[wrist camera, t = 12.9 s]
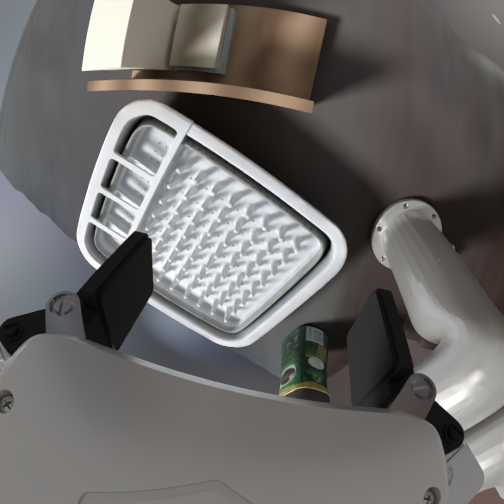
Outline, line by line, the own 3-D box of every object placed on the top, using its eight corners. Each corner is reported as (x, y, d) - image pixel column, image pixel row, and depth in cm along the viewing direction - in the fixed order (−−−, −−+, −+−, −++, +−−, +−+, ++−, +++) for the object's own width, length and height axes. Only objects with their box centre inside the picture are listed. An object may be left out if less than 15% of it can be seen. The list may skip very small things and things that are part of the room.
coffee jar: (306, 357, 59) (303, 432, 44) (277, 344, 58) (266, 421, 42) (335, 333, 54) (338, 414, 38) (303, 318, 53) (299, 403, 37)
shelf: (325, 23, 26) (337, -5, 16) (306, 107, 33) (311, 113, 23) (150, 9, 27) (103, -8, 17) (137, 86, 34) (87, 91, 24)
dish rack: (243, 329, 57) (236, 359, 51) (93, 231, 50) (70, 252, 43) (356, 223, 41) (366, 250, 35) (157, 83, 34) (128, 84, 27)
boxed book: (190, 12, 26) (138, -17, 14) (178, 71, 31) (120, 67, 19) (157, 13, 26) (96, -8, 14) (146, 70, 31) (81, 70, 19)
